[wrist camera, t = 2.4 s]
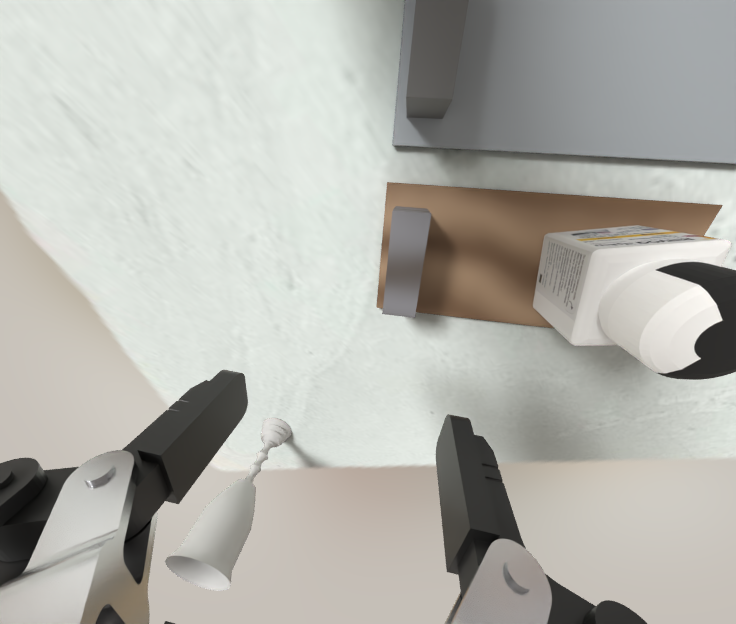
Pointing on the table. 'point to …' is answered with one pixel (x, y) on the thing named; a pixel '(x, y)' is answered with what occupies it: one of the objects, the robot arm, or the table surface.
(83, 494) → the robot arm
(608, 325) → the container
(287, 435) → the chalice
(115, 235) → the table surface
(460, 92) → the grey board with block
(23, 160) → the table surface
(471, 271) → the brown board
